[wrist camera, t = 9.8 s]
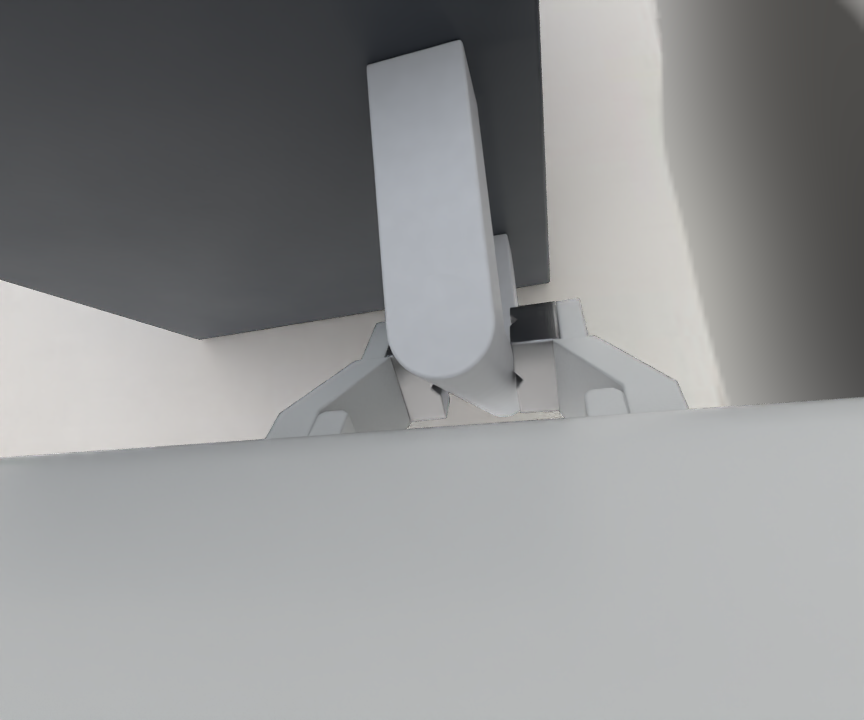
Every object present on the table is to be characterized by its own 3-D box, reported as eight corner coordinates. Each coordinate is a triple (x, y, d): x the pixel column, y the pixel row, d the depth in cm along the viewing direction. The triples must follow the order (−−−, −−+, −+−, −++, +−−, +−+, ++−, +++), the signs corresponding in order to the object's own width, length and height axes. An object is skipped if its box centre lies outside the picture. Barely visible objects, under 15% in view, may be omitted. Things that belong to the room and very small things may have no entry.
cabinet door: (569, 417, 19) (643, 246, 3) (199, 456, 22) (-707, 478, 6) (546, 259, 20) (508, -483, 4) (199, 319, 24) (-562, 47, 8)
